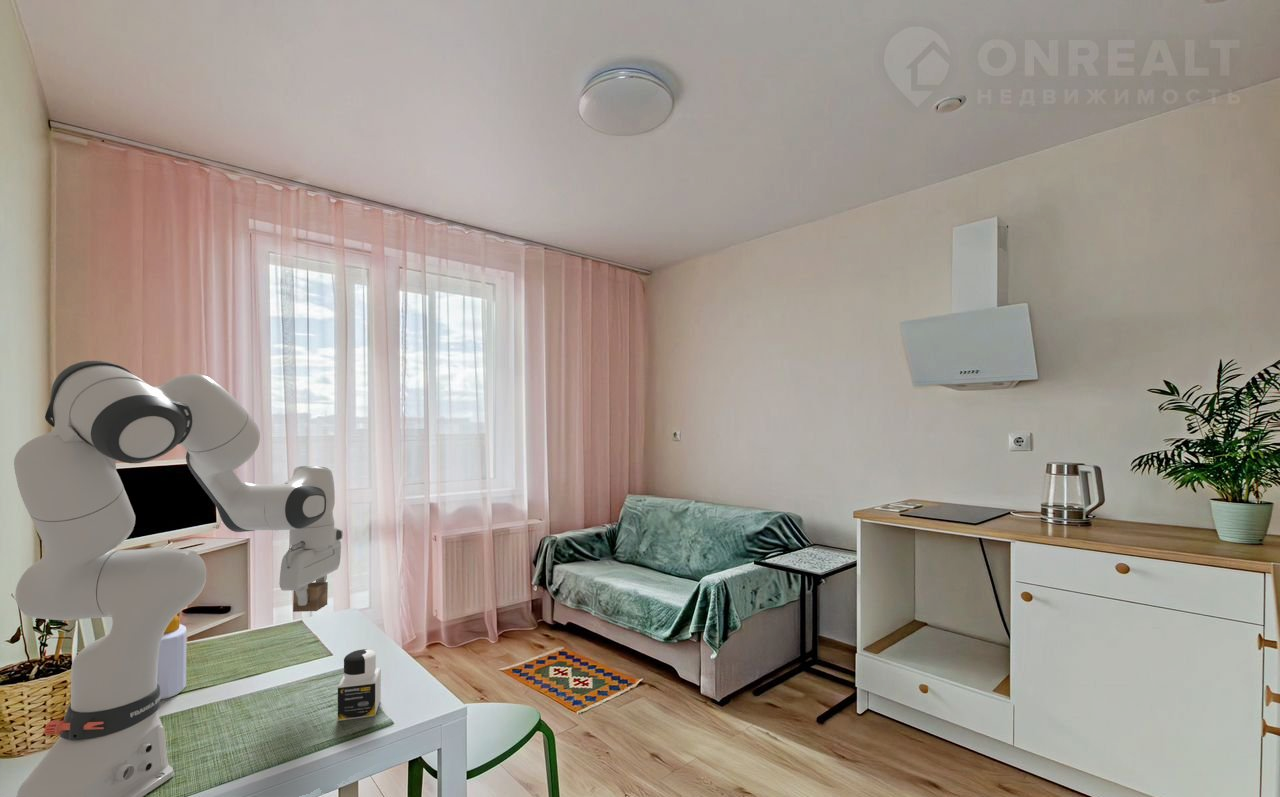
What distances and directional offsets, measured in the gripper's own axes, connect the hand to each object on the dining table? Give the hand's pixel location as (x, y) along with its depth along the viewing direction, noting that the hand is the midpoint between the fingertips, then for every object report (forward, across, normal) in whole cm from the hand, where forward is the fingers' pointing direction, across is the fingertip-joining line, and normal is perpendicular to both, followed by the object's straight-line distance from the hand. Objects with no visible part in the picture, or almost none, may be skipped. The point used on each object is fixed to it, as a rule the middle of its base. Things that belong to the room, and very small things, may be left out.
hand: (311, 600), depth 131 cm
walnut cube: (+2, 0, 0) cm, 2 cm away
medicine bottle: (+21, -8, -14) cm, 27 cm away
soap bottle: (+20, +5, +35) cm, 41 cm away
